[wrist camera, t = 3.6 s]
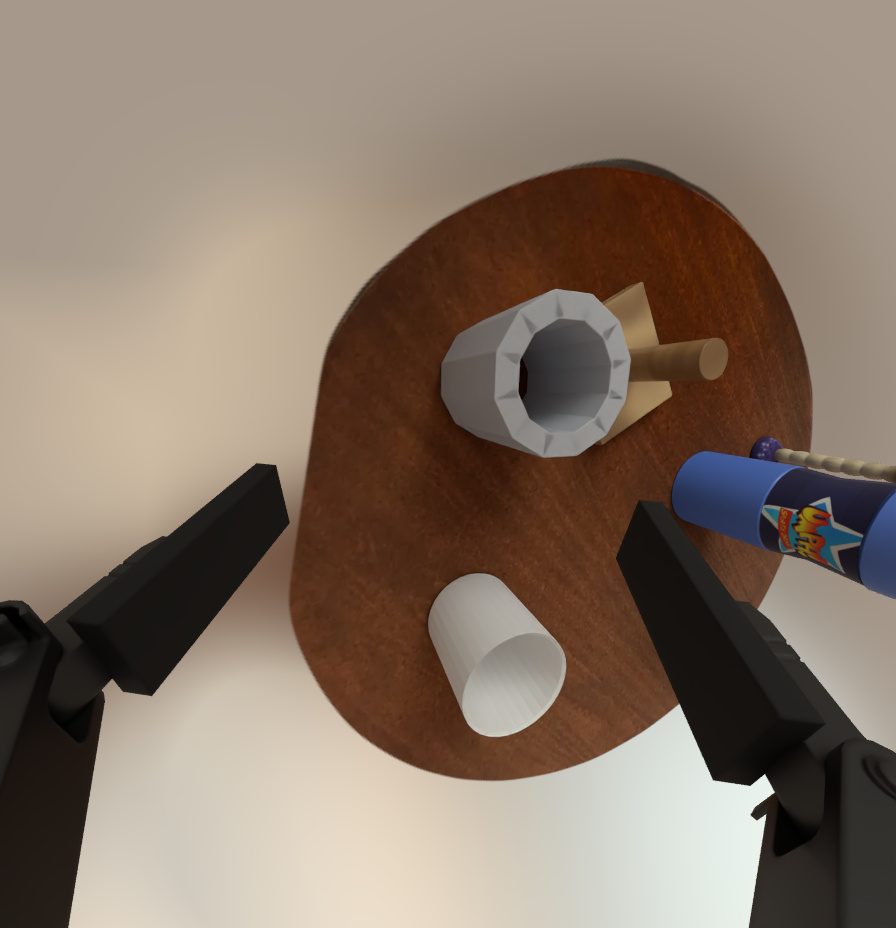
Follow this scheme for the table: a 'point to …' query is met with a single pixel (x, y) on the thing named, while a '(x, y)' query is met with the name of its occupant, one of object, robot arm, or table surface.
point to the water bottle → (795, 513)
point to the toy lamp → (820, 461)
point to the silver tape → (540, 375)
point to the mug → (495, 655)
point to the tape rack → (656, 358)
